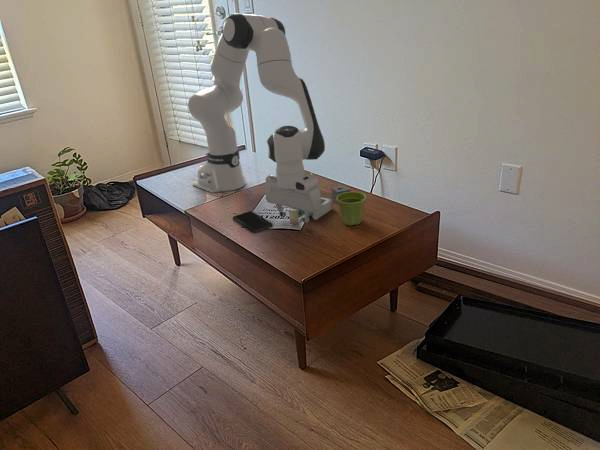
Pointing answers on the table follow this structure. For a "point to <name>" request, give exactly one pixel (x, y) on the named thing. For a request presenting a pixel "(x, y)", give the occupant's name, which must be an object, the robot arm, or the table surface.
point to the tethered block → (296, 216)
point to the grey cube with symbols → (339, 192)
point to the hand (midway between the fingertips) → (294, 218)
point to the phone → (252, 222)
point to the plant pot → (351, 207)
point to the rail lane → (324, 208)
